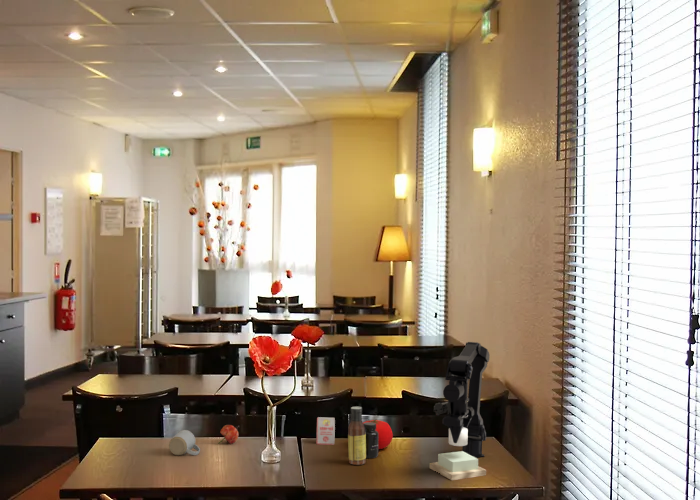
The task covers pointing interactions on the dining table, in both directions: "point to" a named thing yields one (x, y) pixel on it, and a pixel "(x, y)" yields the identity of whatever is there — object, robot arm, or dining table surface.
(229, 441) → the red mushroom
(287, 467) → the dining table surface
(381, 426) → the tomato
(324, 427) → the white red carton
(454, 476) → the birch base slab
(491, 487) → the dining table surface
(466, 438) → the white cylinder
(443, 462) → the sage top block
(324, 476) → the dining table surface
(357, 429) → the sauce bottle
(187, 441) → the ceramic mug
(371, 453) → the supplement bottle
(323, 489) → the dining table surface
